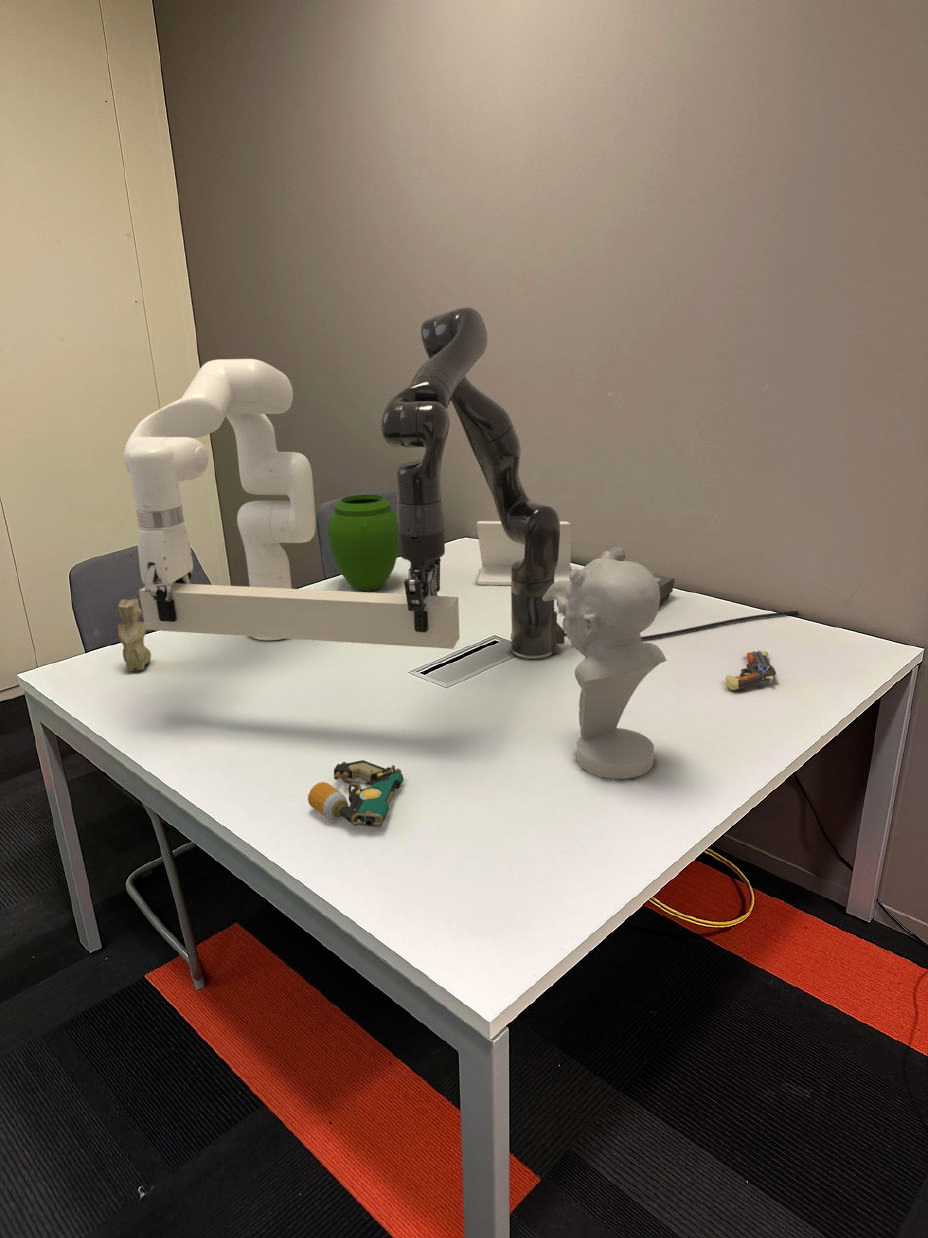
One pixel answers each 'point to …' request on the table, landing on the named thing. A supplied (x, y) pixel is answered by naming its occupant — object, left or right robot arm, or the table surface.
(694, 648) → the table surface
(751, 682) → the toy gun
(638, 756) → the bust sculpture
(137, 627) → the sculpture
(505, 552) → the tablet stand
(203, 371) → the left robot arm
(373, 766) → the spray gun
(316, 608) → the bar
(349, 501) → the vase
